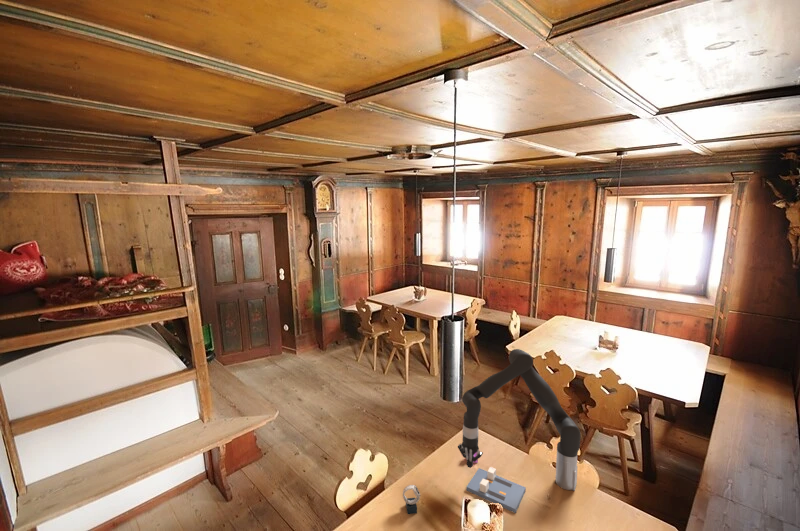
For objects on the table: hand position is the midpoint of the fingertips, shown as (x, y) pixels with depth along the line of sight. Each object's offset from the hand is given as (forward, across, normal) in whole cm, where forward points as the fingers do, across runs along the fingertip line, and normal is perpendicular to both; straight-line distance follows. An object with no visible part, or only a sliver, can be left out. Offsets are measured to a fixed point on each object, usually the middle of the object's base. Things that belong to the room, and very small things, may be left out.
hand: (469, 466), depth 171 cm
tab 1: (+9, -8, 0) cm, 12 cm away
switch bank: (+11, -12, -5) cm, 17 cm away
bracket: (+11, +9, -23) cm, 28 cm away
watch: (+11, +16, +28) cm, 34 cm away
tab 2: (+8, -8, -10) cm, 15 cm away
